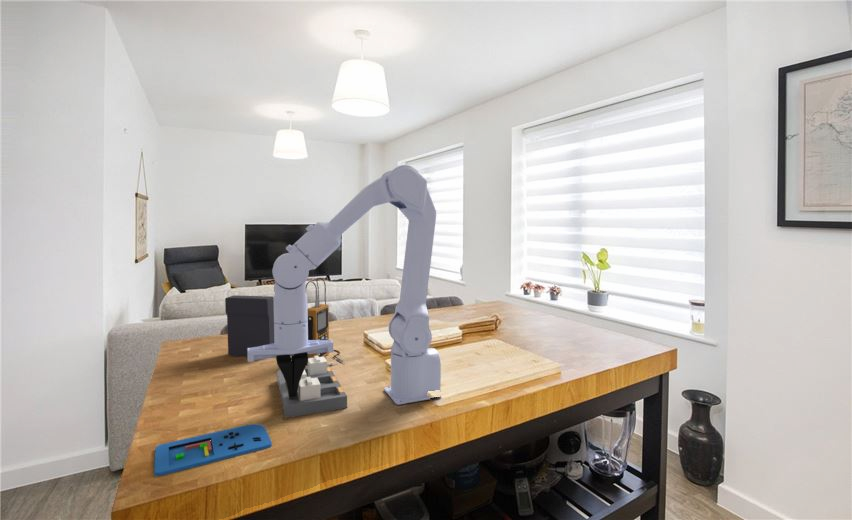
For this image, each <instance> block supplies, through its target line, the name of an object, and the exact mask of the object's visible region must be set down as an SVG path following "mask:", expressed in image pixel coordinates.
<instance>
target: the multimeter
mask: <svg viewBox="0 0 852 520" xmlns="http://www.w3.org/2000/svg"><path fill="white" fill-rule="evenodd" d="M318 280H322V282H323V285H324V304H323V303H322V304H321V303H320V295H319V294H320V293H319V292H320V291H319V289H320V288H319V287H320V286H319V283H318ZM309 283H312V284H313V285H314V287H315V300H314V306H310V307H307V310H308V340H330V322H329V321H330V317H329V315H330V310H329V308H330V307H329V304H327V301H326V300H327V299H326V298H327V296H326V288H327V287H326V281H325V280H324V278H322V277H318V278H316V283H315V282H314V281H308V282H306V289H307V288H308V285H309ZM333 352H337V354H336V353H335V355H333V357H334V358H335V359H337V362H334V363H333V362H332V363H327V365H329V366H331V367H332V366H333V365H336V364H339V363H340V362H341V363H344V364H347V362H345V361H344V360H345V359H342V358H340V357H337V356H339V355H340V353H341V352H340V350H336V349H333ZM329 354H330V353H327V352H321V353H313V354H307V356H308V358H314V356H319V357H325V358H326V357H328V355H329ZM338 361H340V362H338Z"/></svg>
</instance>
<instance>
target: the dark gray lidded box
mask: <svg viewBox="0 0 852 520" xmlns="http://www.w3.org/2000/svg"><path fill="white" fill-rule="evenodd" d="M273 297H274V296H269V295H266V296H265V295H263V296H262V295H231V296H227V297H225V299H224V304H225V305H224V306H225V314H226V324H227V351H228V352H227V354H228V356H229V357H246V358H248V352H247V348H252V347H259V346H264V345H269V344H274V343H275V342H274V300H273Z"/></svg>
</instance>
